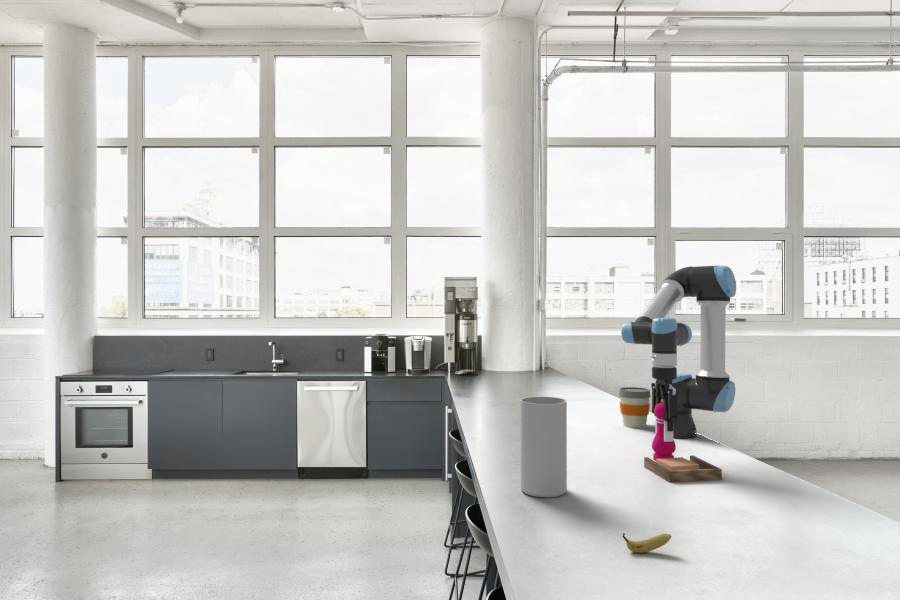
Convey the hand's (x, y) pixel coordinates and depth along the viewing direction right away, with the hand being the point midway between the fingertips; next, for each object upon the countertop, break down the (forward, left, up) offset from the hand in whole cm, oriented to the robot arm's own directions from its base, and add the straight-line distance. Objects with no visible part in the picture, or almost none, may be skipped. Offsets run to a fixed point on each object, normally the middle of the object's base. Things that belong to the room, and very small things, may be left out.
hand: (664, 438), depth 195 cm
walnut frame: (0, +10, -8) cm, 13 cm away
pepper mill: (0, 0, -7) cm, 7 cm away
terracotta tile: (0, +7, -8) cm, 11 cm away
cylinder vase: (+46, +21, -8) cm, 51 cm away
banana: (+36, +63, -8) cm, 73 cm away
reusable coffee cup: (-15, -56, -8) cm, 58 cm away
